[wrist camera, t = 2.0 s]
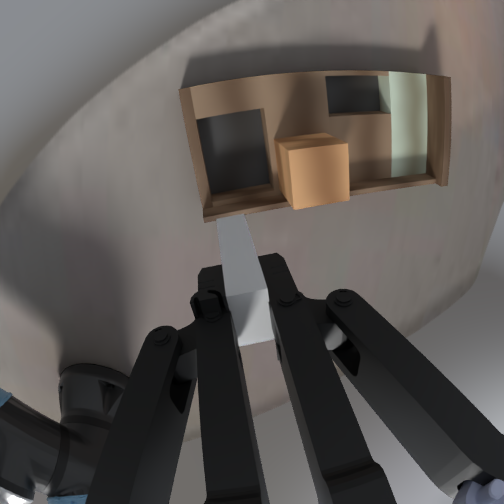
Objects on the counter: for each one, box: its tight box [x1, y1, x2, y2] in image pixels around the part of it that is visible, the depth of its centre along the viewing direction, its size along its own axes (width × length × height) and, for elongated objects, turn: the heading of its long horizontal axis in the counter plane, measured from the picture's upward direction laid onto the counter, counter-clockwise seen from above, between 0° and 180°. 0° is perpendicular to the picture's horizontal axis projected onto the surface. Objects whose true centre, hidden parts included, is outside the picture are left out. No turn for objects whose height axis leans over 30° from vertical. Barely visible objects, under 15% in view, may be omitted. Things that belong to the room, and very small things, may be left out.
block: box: [274, 133, 349, 210], centre depth 26 cm, size 5×5×5 cm
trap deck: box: [179, 70, 451, 223], centre depth 27 cm, size 26×12×6 cm, turn 98°
